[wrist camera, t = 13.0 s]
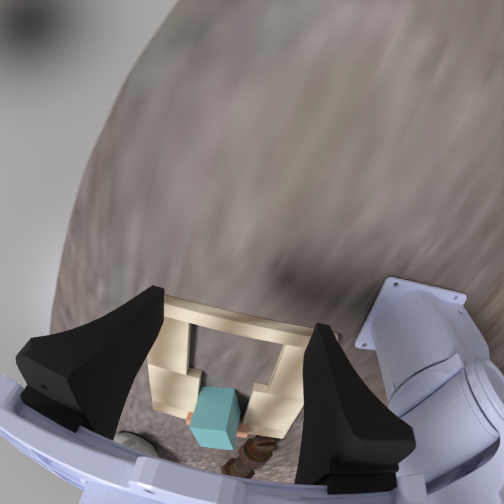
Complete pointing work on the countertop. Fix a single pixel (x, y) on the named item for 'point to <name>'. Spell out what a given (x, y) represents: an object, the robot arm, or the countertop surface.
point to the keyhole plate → (189, 379)
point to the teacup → (135, 443)
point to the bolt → (250, 457)
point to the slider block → (216, 418)
